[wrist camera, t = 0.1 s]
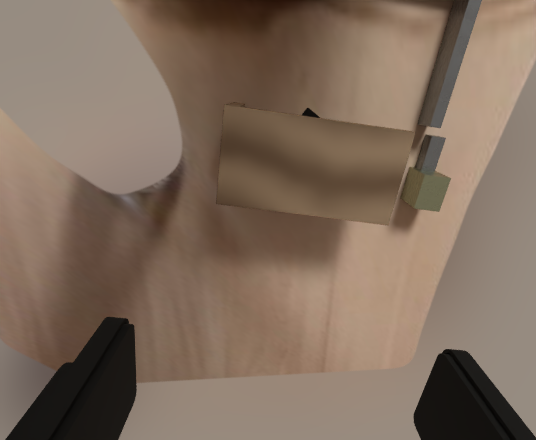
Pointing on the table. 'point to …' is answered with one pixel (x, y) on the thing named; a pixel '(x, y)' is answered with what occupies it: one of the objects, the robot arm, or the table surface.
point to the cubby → (310, 165)
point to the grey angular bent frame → (449, 61)
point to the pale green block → (426, 178)
